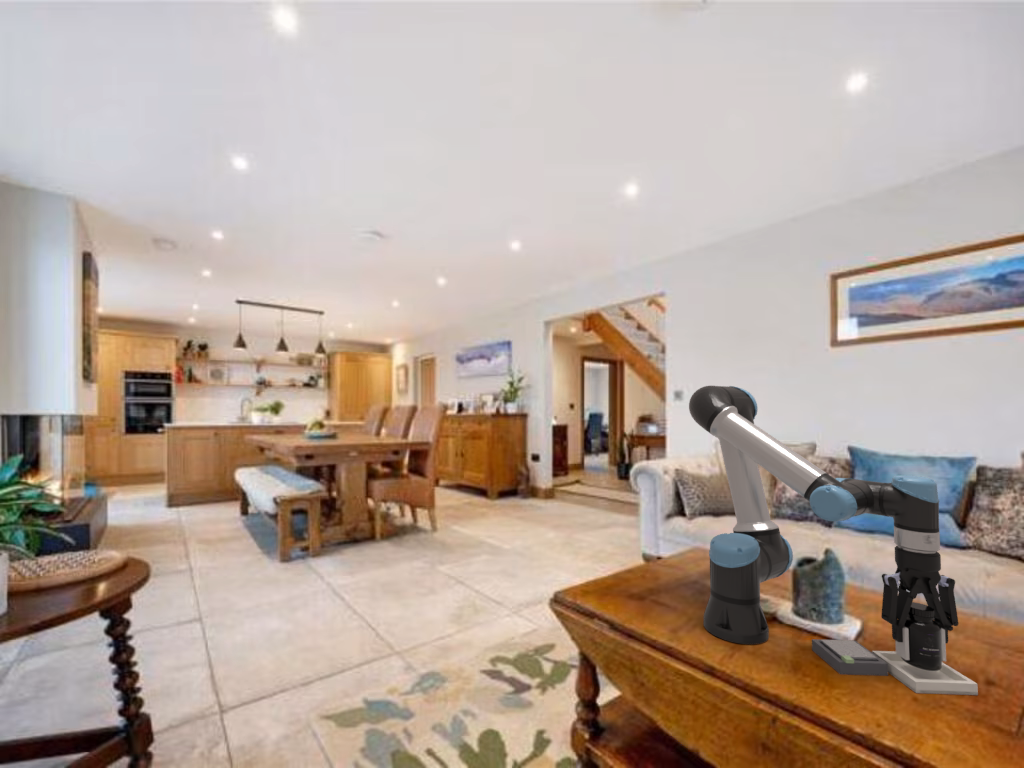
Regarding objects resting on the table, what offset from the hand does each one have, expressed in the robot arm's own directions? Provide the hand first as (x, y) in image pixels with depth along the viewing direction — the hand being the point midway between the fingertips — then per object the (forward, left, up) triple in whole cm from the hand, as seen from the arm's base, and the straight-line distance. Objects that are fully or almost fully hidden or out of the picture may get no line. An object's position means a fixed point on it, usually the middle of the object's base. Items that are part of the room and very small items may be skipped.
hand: (920, 657), depth 99 cm
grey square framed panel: (-12, +5, -4) cm, 14 cm away
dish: (0, 0, -4) cm, 4 cm away
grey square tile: (-12, +5, -2) cm, 13 cm away
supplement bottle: (0, 0, -2) cm, 2 cm away
